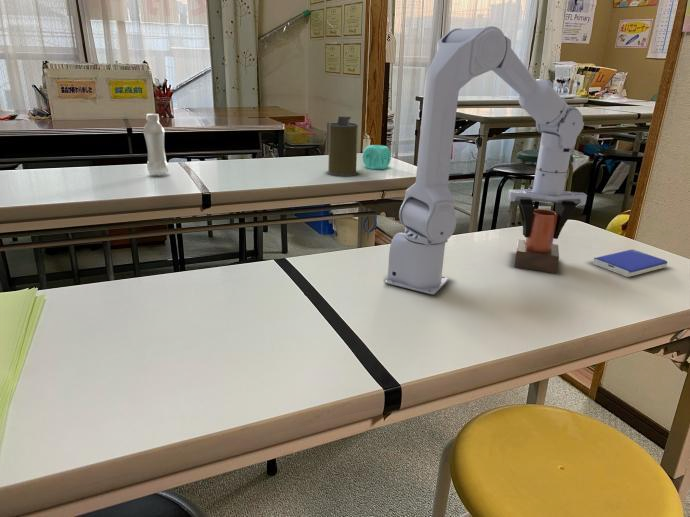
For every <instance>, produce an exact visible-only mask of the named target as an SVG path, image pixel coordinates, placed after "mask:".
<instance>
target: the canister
mask: <svg viewBox="0 0 690 517" xmlns="http://www.w3.org/2000/svg"><path fill="white" fill-rule="evenodd" d="M350 119H352V116H349V115H340V116H338V118H337V122H336V121H335V122H333V121H329V122H327V124H326V129H327V130H326V155H328V166H327V167H328V169H327V174H328V175H330V176H334V177H353V176H355V175H357V162H358V161H357V158H358V157H357V156H358V131H359V124H358V123H355V122H350Z"/></svg>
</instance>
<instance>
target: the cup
mask: <svg viewBox="0 0 690 517" xmlns="http://www.w3.org/2000/svg"><path fill="white" fill-rule="evenodd" d="M557 217H558V213H557V212H555V210H550V209H544V208H535V210H534V213H533V217H532V220H531V227H530V234H529V237H525V240H526V242H525V247H526V248H527V249H530V250H533V251H537V252H549V251H551V249H552V244H554V234H555V228H556V223H557Z"/></svg>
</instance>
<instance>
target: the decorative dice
mask: <svg viewBox="0 0 690 517" xmlns="http://www.w3.org/2000/svg"><path fill="white" fill-rule="evenodd" d="M391 159H392V152H391V149H389V147H388V146H386V145H384V144H383V145H382V144H370V145H367V146H366V147H365V148H364V150H363V153H362V163H363V165H364V166H365V167H366V169H369V170H385V169H387V168H388V167H389V166H390V164H391Z"/></svg>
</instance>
